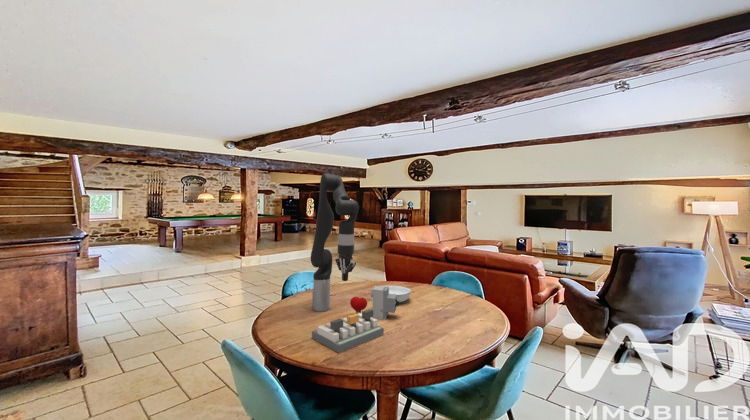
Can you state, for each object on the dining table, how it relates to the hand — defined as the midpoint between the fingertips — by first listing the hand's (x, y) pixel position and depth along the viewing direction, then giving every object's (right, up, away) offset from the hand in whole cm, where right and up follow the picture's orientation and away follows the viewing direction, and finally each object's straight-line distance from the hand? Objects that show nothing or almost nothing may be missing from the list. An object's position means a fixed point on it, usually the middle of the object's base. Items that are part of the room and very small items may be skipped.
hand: (344, 280), depth 150 cm
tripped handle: (+4, -21, -6) cm, 22 cm away
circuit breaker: (+19, -24, +21) cm, 37 cm away
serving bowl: (+25, -23, +48) cm, 59 cm away
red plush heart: (+5, -24, +21) cm, 32 cm away
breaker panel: (+2, -24, -4) cm, 25 cm away
